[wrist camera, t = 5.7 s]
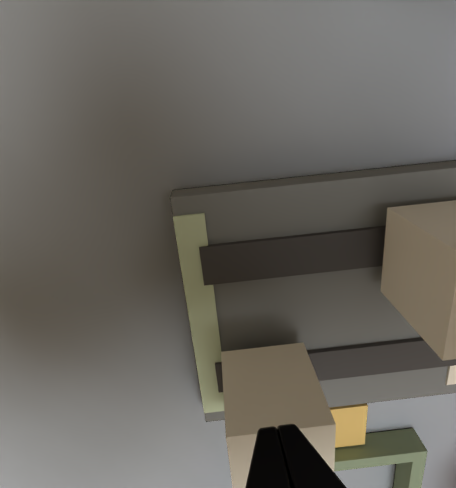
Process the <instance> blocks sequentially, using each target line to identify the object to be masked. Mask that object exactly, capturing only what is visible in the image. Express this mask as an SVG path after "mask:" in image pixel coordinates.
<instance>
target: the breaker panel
mask: <svg viewBox="0 0 456 488" xmlns="http://www.w3.org/2000/svg"><path fill="white" fill-rule="evenodd" d="M453 200H456V160H454V161H445V162H435V163H426V164H416V165H407V166H397V167H388V168H378V169H369V170H359V171H350V172H340V173H331V174H321V175H312V176H302V177H293V178H283V179H274V180H264V181H255V182H245V183H236V184H226V185H217V186H207V187H198V188H189V189H179V190H173V191H172V194H171V197H170V201H171V207H172V214H173V222H174V229H175V235H176V241H177V247H178V253H179V260H180V266H181V272H182V278H183V285H184V291H185V297H186V303H187V309H188V316H189V322H190V328H191V334H192V340H193V347H194V353H195V359H196V365H197V372H198V378H199V384H200V390H201V396H202V403H203V409H204V413H205V419H206V422H210V421H218V420H225V411H224V394H223V378H222V361H221V352H224V351H232V350H241V349H250V348H259V347H268V346H277V345H285V344H294V343H304V345H305V348H306V350H307V353H308V355H309V358H310V360H311V363H312V365H313V368H314V370H315V373H316V375H317V378H318V381H319V383H320V386H321V388H322V391H323V393H324V396H325V398H326V401H327V403H328V406H329V408H330V407H338V406H347V405H355V404H364V403H373V402H381V401H390V400H398V399H407V398H416V397H424V396H433V395H441V394H450V393H456V359H453V360H444V361H442V360H441V358H440V357H439V356H438V355H437V354H436V353H435V352H434V351H433V350H432V348H431V347H430V346H429V345H428V344H427V343H426V342H425V341H424V339H423V338H422V337H421V336H420V335H419V334H418V333H417V332H416V330H415V329H414V328H413V327H412V326H411V325H410V324H409V323H408V321H407V320H406V319H405V318H404V317H403V316H402V315H401V314H400V313H399V311H398V310H397V309H396V308H395V307H394V306H393V305H392V304H391V302H390V301H389V300H388V299H387V298H386V297H385V296H384V295H383V293H382V292H381V278H382V266H383V254H384V242H385V230H386V218H387V208H388V207H397V206H407V205H416V204H425V203H435V202H444V201H453Z"/></svg>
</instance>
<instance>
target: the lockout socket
mask: <svg viewBox="0 0 456 488" xmlns="http://www.w3.org/2000/svg"><path fill="white" fill-rule="evenodd" d="M367 409H368V405H367V403H364V404H355V405H347V406H338V407H330V411H331V413H332V416H333V418H334V421H335V424H336V434H335V465H334V471H340V470H349V469H357V468H365V467H374V466H382V465H390V464H396V470H395V478H394V486H393V488H421V485H422V479H423V474H424V468H425V462H426V457H427V449H426V448H425V446H424V445H423V443H422V441H421V440H420V438H419V437H418V435H417V433H416V432H415V430H414V429H413V428H410V429H402V430H393V431H385V432H376V433H368V434H366V422H367Z"/></svg>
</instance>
